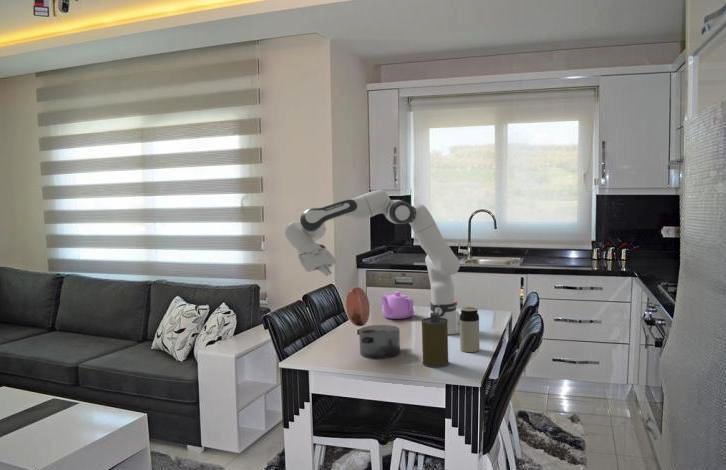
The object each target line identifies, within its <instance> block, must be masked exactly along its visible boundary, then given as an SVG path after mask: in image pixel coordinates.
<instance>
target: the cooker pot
mask: <svg viewBox="0 0 726 470" xmlns="http://www.w3.org/2000/svg"><path fill="white" fill-rule="evenodd" d="M356 331H357V332H356V333H357V335H358V336H359V337H358V339H359V355H360V356H361V357H364V358H367V359H373V360H374V359H375V360H378V359H380V360H384V359H391V358H395V357H397V356H399V355H400V354H401V339H400V338H401V337H400V328H399V327H398V326H395V325H390V324H389V325H388V324H373V325H371V324H370V325H366V326H363V327H361V328H359V329H357V330H356Z"/></svg>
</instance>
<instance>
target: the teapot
mask: <svg viewBox="0 0 726 470" xmlns="http://www.w3.org/2000/svg"><path fill="white" fill-rule="evenodd" d="M381 298H382V299H381V301H382V306H381V313H382V314H383V316H384V317H385V318H387V319H394V320H403V319H408V318H411V316H414V315H415V313H416V312H415V310H414V299H412V298H411V297H408V296H407V295H406V294H402V293H401V291H394V292H393V294H384V296H381Z"/></svg>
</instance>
